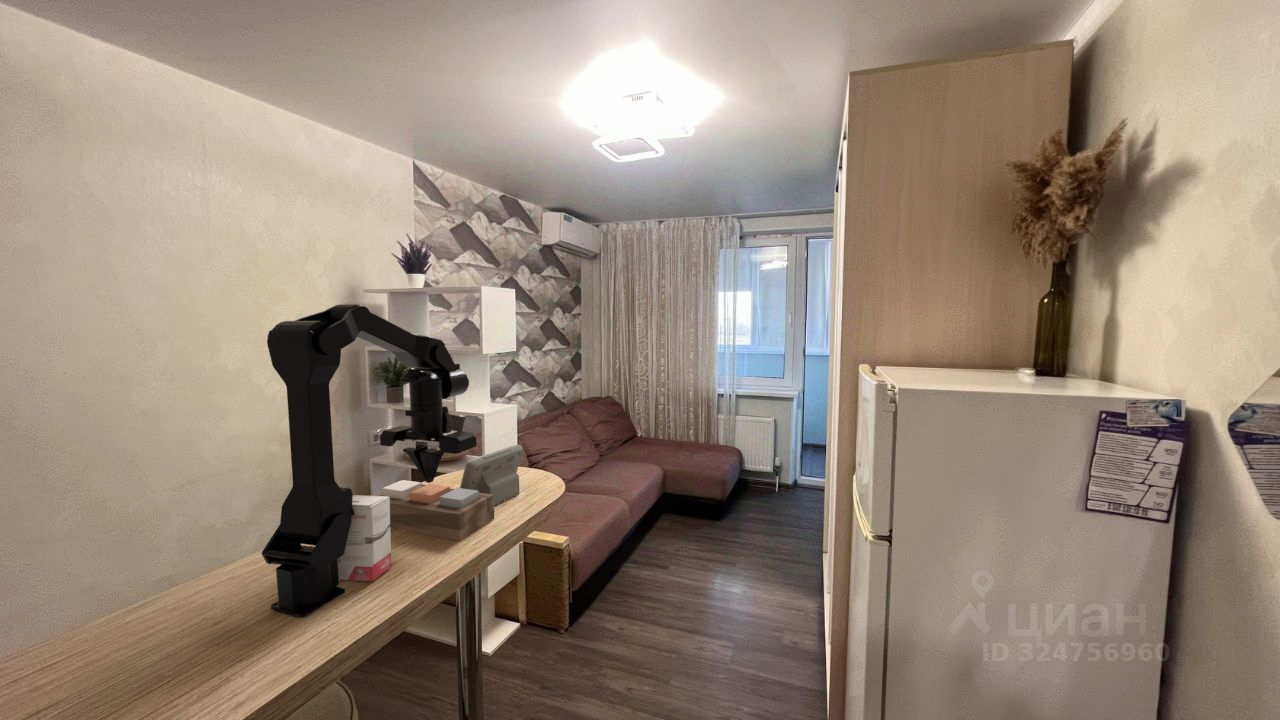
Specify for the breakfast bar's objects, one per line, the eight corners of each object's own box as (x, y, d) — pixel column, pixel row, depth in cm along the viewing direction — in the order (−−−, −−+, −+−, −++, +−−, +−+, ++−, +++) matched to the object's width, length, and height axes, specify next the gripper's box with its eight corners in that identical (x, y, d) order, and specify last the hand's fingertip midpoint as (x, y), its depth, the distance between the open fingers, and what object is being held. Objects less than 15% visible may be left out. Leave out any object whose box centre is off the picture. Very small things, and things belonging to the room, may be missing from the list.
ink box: (394, 565, 78) (391, 494, 77) (373, 582, 73) (370, 506, 72) (344, 563, 79) (340, 492, 78) (320, 579, 74) (317, 504, 73)
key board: (460, 541, 87) (459, 514, 86) (367, 523, 94) (366, 499, 93) (494, 518, 96) (493, 494, 96) (407, 504, 103) (406, 482, 103)
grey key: (462, 515, 89) (461, 500, 89) (440, 512, 91) (439, 496, 90) (479, 505, 94) (478, 490, 94) (458, 502, 95) (457, 487, 95)
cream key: (403, 506, 94) (402, 491, 93) (383, 502, 95) (382, 488, 95) (422, 496, 98) (421, 482, 98) (403, 493, 100) (402, 479, 100)
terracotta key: (431, 510, 91) (431, 495, 91) (411, 507, 93) (410, 492, 93) (450, 501, 96) (449, 486, 96) (430, 498, 98) (429, 483, 97)
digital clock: (511, 483, 116) (510, 440, 115) (534, 492, 111) (533, 447, 110) (448, 504, 104) (446, 455, 103) (470, 515, 98) (469, 464, 97)
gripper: (493, 399, 97) (495, 474, 99) (419, 394, 103) (422, 465, 105) (454, 409, 87) (458, 493, 88) (375, 403, 93) (380, 481, 94)
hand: (429, 482), depth 94 cm, fingers closed
